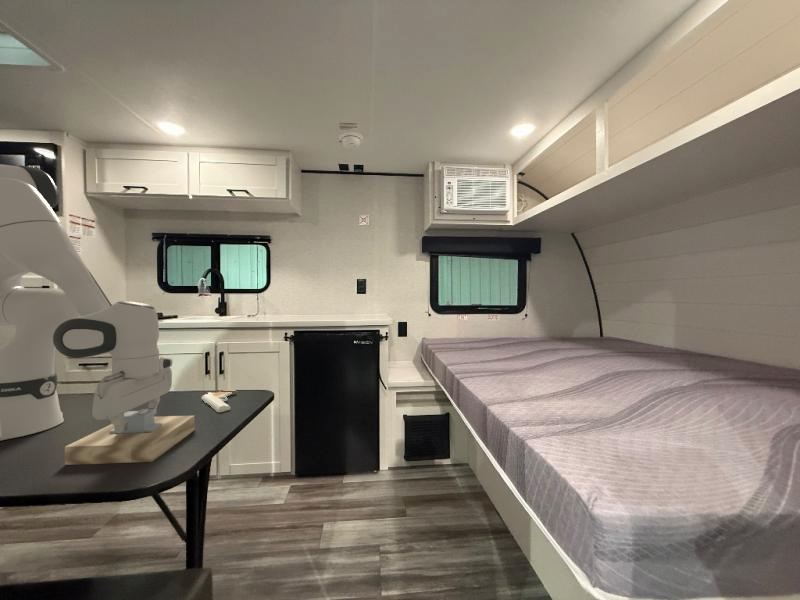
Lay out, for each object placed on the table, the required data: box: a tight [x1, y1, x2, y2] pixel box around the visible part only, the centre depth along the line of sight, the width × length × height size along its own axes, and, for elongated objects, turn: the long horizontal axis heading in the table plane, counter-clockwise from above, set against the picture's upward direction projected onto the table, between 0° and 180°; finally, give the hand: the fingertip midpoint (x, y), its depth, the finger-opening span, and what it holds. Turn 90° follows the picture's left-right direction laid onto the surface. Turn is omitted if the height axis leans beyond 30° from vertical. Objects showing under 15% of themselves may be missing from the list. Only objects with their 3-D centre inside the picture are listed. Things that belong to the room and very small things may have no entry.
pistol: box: [200, 388, 236, 413], centre depth 107 cm, size 2×20×11 cm
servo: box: [109, 408, 162, 434], centre depth 75 cm, size 10×3×9 cm, turn 96°
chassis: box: [64, 415, 196, 466], centre depth 75 cm, size 18×16×4 cm
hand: (137, 422), depth 75 cm, fingers open, 8 cm apart
